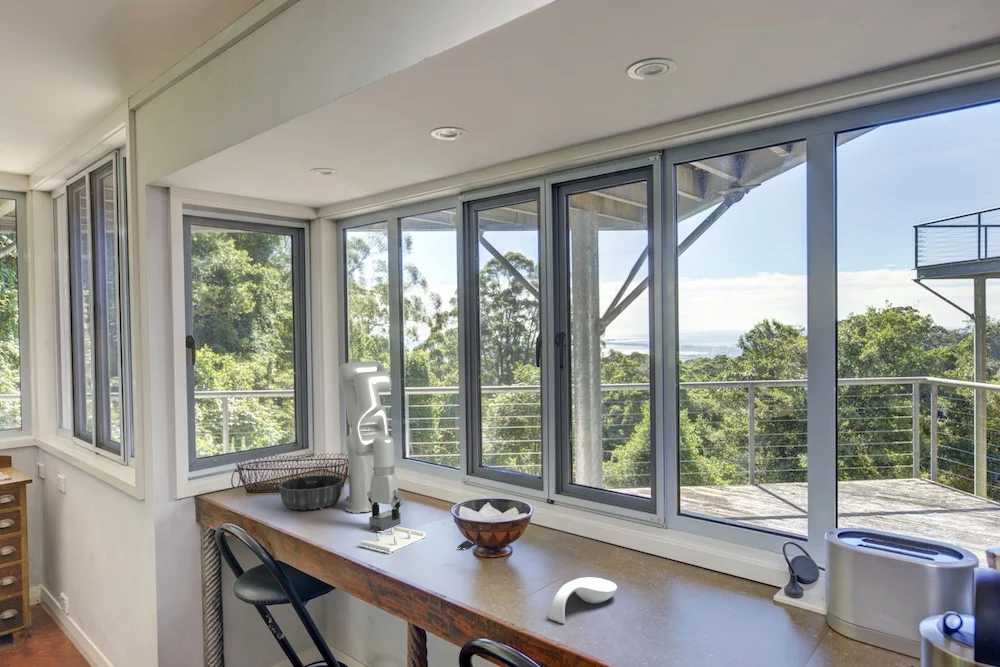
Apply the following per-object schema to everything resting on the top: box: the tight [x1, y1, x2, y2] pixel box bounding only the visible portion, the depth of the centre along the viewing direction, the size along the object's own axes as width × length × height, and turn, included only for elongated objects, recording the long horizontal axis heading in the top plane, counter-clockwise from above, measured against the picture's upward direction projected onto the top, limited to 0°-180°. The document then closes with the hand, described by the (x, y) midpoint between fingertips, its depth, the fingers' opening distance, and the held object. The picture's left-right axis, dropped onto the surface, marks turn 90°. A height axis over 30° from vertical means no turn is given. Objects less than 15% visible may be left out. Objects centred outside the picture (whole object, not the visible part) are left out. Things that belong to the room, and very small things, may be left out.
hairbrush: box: [457, 539, 474, 549], centre depth 212 cm, size 8×4×25 cm
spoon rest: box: [548, 576, 618, 625], centre depth 161 cm, size 24×12×7 cm, turn 140°
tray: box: [360, 526, 426, 552], centre depth 211 cm, size 13×18×4 cm
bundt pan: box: [277, 474, 345, 511], centre depth 259 cm, size 26×26×10 cm
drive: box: [368, 509, 402, 532], centre depth 227 cm, size 6×11×5 cm, turn 147°
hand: (385, 517), depth 226 cm, fingers open, 9 cm apart
